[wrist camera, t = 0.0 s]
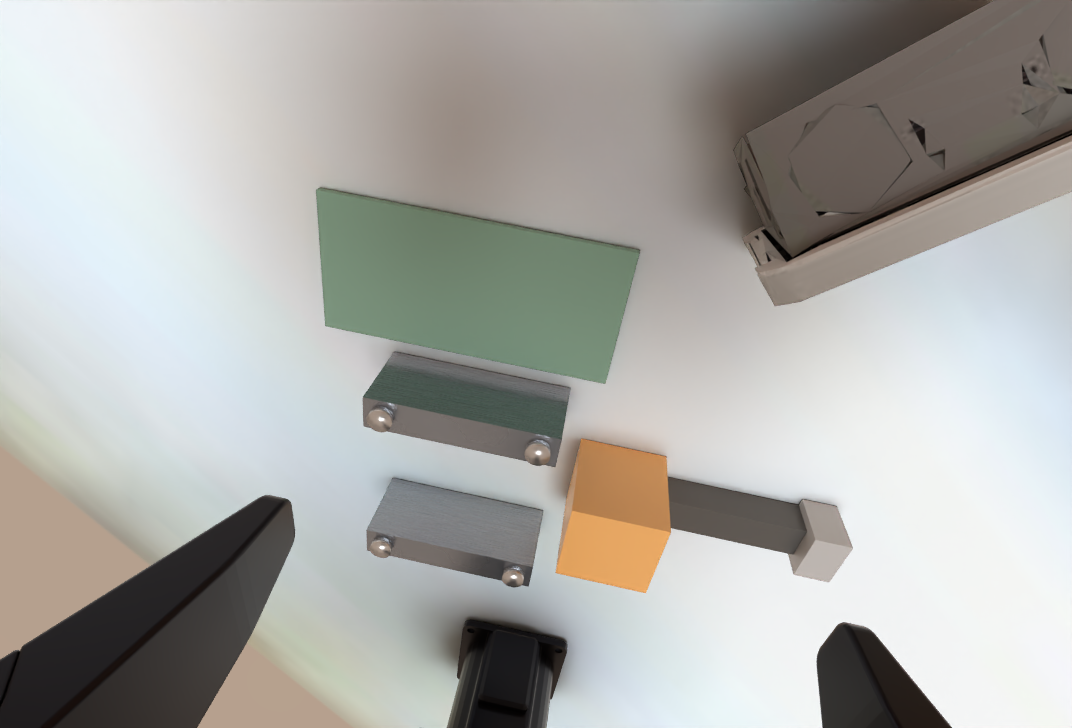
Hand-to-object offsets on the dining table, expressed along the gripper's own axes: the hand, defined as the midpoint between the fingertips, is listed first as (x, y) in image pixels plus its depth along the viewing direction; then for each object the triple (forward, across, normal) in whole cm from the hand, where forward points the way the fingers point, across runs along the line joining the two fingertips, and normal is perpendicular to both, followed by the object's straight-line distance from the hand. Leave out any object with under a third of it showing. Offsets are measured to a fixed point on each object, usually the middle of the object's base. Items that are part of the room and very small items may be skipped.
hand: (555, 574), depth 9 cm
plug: (+15, -7, +11) cm, 20 cm away
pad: (+15, +5, +3) cm, 16 cm away
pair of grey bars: (+15, +4, +11) cm, 19 cm away
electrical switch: (+15, -7, -6) cm, 17 cm away
